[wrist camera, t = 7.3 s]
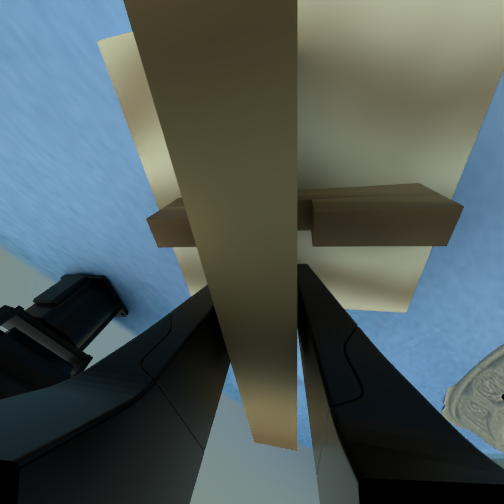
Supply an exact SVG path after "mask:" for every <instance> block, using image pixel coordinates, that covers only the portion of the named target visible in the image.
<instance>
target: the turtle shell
mask: <svg viewBox="0 0 504 504" xmlns="http://www.w3.org/2000/svg"><path fill="white" fill-rule="evenodd" d="M502 394H504V345H502V346H500V347H499V348H497V349H496V350H494V351H493V352H492V353H490V354H489V355H488V356H486V357H485V358H484V359H483V360H481V361H480V362H479V363H478V364H477V365H476V366H474V367H473V368H472V369H471V370H470V371H469V372H468V373H467V374H466V375H465V376H464V377H463V378H462V379H461V380H460V381H459V382H458V383H457V384H455V385H454V386H452V387H450V388H448V391H447V393H446V396H445V401H444V404H445V407H444V409H443V410H442V414H443V416H444V417H445V418H446V419H447V420H448V421H449V422H451V423H453V424H454V425H456V426H458V427H461V428H464V429H467V430H471V431H472V432H473V433H474V434H476V435H477V436H479V437H480V438H482V439H483V440H484V441H485V442H486V443H488V444H489V445H491V446H493V447H494V448H495V449H498V450H499V451H501V452H503V453H504V401H503V399H502V397H501V396H502ZM488 396H490V397H488Z"/></svg>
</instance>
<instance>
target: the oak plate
mask: <svg viewBox="0 0 504 504" xmlns="http://www.w3.org/2000/svg"><path fill="white" fill-rule="evenodd" d="M123 1H124V4H125V7H126V11H127V14H128V17H129V21H130V24H131V28H132V31H133V34H134V38H135V41H136V44H137V48H138V51H139V54H140V58H141V61H142V65H143V68H144V71H145V75H146V78H147V81H148V85H149V88H150V92H151V95H152V98H153V102H154V105H155V108H156V112H157V115H158V119H159V122H160V125H161V129H162V132H163V135H164V139H165V142H166V146H167V149H168V152H169V156H170V159H171V162H172V166H173V169H174V172H175V176H176V179H177V183H178V186H179V189H180V193H181V196H182V199H183V203H184V206H185V210H186V213H187V216H188V220H189V223H190V226H191V230H192V233H193V237H194V240H195V243H196V247H197V250H198V253H199V257H200V260H201V264H202V267H203V270H204V274H205V277H206V280H207V284H208V287H209V290H210V294H211V297H212V301H213V304H214V307H215V311H216V314H217V317H218V321H219V324H220V328H221V331H222V334H223V338H224V341H225V344H226V348H227V351H228V355H229V358H230V361H231V365H232V368H233V371H234V375H235V378H236V382H237V385H238V388H239V392H240V395H241V398H242V402H243V405H244V408H245V412H246V415H247V419H248V422H249V425H250V429H251V432H252V435H253V439H254V442H257V443H262V444H267V445H271V446H277V447H282V448H286V449H291V450H297V51H298V0H123Z"/></svg>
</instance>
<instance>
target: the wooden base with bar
mask: <svg viewBox="0 0 504 504" xmlns="http://www.w3.org/2000/svg"><path fill="white" fill-rule="evenodd" d="M97 43H98V46H99V48H100V51H101V54H102V56H103V59H104V62H105V65H106V67H107V70H108V73H109V75H110V78H111V81H112V84H113V86H114V89H115V92H116V94H117V97H118V100H119V102H120V105H121V108H122V111H123V113H124V116H125V119H126V121H127V124H128V127H129V130H130V132H131V135H132V138H133V140H134V143H135V146H136V148H137V151H138V154H139V157H140V159H141V162H142V165H143V167H144V170H145V173H146V176H147V178H148V181H149V184H150V186H151V189H152V192H153V194H154V197H155V200H156V203H157V205H158V208H159V211H158V212H156V213H155V214H153V215H152V216H150V217H149V218H147V219H146V220H147V222H148V224H149V227H150V229H151V232H152V234H153V236H154V239H155V241H156V244H157V246H158V247H173V249H174V251H175V254H176V257H177V259H178V262H179V265H180V268H181V270H182V273H183V276H184V278H185V281H186V284H187V287H188V289H189V292H190V295H191V296H193V295H194V294H195V293H197V292H198V291H199V290H201V289H202V288H203V287H205V286H206V285H207V280H206V277H205V274H204V270H203V267H202V264H201V260H200V257H199V253H198V250H197V247H196V243H195V240H194V237H193V233H192V230H191V226H190V223H189V220H188V216H187V213H186V210H185V206H184V203H183V199H182V196H181V193H180V189H179V186H178V183H177V179H176V176H175V172H174V169H173V166H172V162H171V159H170V156H169V152H168V149H167V146H166V142H165V139H164V135H163V132H162V129H161V125H160V122H159V119H158V115H157V112H156V108H155V105H154V102H153V98H152V95H151V92H150V88H149V85H148V81H147V78H146V75H145V71H144V68H143V65H142V61H141V58H140V54H139V51H138V48H137V44H136V41H135V38H134V34H133V32H129V33H125V34H122V35H118V36H114V37H111V38H107V39H103V40H100V41H97ZM503 71H504V0H298V51H297V264H308V265H309V266H310V267H311V269H312V270H313V271H314V272H315V274H316V275H317V276H318V277H319V279H320V280H321V281H322V282H323V283H324V285H325V286H326V287H327V288H328V290H329V291H330V292H331V293H332V294H333V296H334V297H335V298H336V299H337V301H338V302H339V303H340V304H341V305H342V307H343V308H344V309H353V310H370V311H387V312H405V313H406V312H407V309H408V307H409V304H410V302H411V299H412V297H413V294H414V292H415V289H416V287H417V284H418V282H419V279H420V277H421V274H422V272H423V269H424V267H425V264H426V262H427V259H428V257H429V254H430V252H431V249H432V247H433V246H447V244H448V242H449V240H450V237H451V235H452V233H453V231H454V228H455V226H456V224H457V222H458V219H459V217H460V215H461V212H462V210H463V208H464V206H462V205H460V204H458V203H456V202H454V201H452V197H453V195H454V192H455V190H456V187H457V185H458V182H459V180H460V178H461V175H462V173H463V170H464V168H465V165H466V163H467V160H468V158H469V155H470V153H471V150H472V148H473V145H474V143H475V140H476V138H477V135H478V133H479V130H480V128H481V125H482V123H483V120H484V118H485V115H486V113H487V110H488V108H489V106H490V103H491V101H492V98H493V96H494V93H495V91H496V88H497V86H498V83H499V81H500V78H501V76H502V73H503Z"/></svg>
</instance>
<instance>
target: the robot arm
mask: <svg viewBox="0 0 504 504" xmlns="http://www.w3.org/2000/svg"><path fill="white" fill-rule="evenodd" d="M60 279H61V281H59V282H58V283H56V284H55V285H53V286H52V287H50V288H49V289H47V290H46V291H45V292H43V293H42V294H40V295H39V296H37V297H36V298H34V300H33V302H34V303H35V304H33V305H32V306H31V307H29V308H28V309H26V310H25V311H24V308H22V307H21V306H17V307H16V308H13V307H10V306H6V305H4V306H3V307H1V308H0V326H3V327H4V328H6V329H8V331H6V332H3V331H1V330H0V504H190V500H191V497H192V493H193V490H194V486H195V483H196V480H197V476H198V473H199V469H200V466H201V462H202V459H203V455H204V450H205V448H206V444H207V441H208V437H209V434H210V431H211V427H212V424H213V420H214V417H215V413H216V410H217V406H218V403H219V400H220V396H221V393H222V389H223V386H224V382H225V379H226V375H227V372H228V369H229V365H230V362H231V361H230V358H229V355H228V351H227V348H226V344H225V341H224V338H223V334H222V331H221V328H220V324H219V321H218V317H217V314H216V311H215V307H214V304H213V301H212V297H211V294H210V290H209V287H208V284H207V285H206V286H205V287H203V288H202V289H201V290H199V291H198V292H197V293H195V294H194V295H193V296H191V297H190V298H189V299H187V300H186V301H185V302H183V303H182V304H181V305H179V306H178V307H177V308H175V309H174V310H173V311H172V312H171V313H169V314H167V315H166V316H165V317H163V318H162V319H161V320H159V321H158V322H157V323H155V324H154V325H153V326H151V327H150V328H148V329H147V330H146V331H144V332H143V333H141V334H140V335H138V336H137V337H135V338H134V339H132V340H131V341H129V342H128V343H126V344H125V345H124V346H122V347H120V348H119V349H117V350H116V351H115V352H113V353H111V354H110V355H108V356H106V357H105V358H103V359H102V360H100V361H99V362H97V363H96V364H94V365H93V366H91V367H90V368H88V369H86V370H85V368H86V367H87V366H88V364H89V363H90V361H91V360H92V358H93V357H91V356H90V355H87V354H86V353H84V352H83V350H84V349H85V348H86V347H87V346H88V345H89V344H90V343H91V342H92V341H93V340H94V338H95V337H96V336H97V335H98V334H99V333H100V332H101V331H102V330H103V329H104V328H105V327H106V326H107V325H108V323H109V322H110V321H111V320H112V319H113V318H114V317H115V316H119V317H126V316H127V315H128V312H127V310H126V308H125V307H124V305H123V304H122V302H121V300H120V299H119V297H118V296H117V294H116V292H115V291H114V289H113V288H112V286H111V284H110V283H109V281H108V280H107V278H105V277H103V276H82V275H64V276H62V277H61V278H60ZM297 329H298V337H299V345H300V352H301V360H302V368H303V375H304V383H305V391H306V399H307V406H308V414H309V422H310V429H311V437H312V445H313V452H314V459H315V468H316V474H317V483H318V491H319V499H320V504H504V469H503V468H502V467H501V466H499V465H498V464H497V463H495V462H494V461H492V460H491V459H490V458H489V457H487V456H486V455H485V454H484V453H482V452H481V451H480V450H479V449H477V448H476V447H475V446H474V445H473V444H472V443H470V442H469V441H468V440H467V439H466V438H465V437H464V436H463V435H462V434H461V433H460V432H458V431H457V430H456V429H455V428H454V427H453V426H452V425H451V424H450V423H449V422H448V421H447V420H446V419H445V418H444V417H443V416H442V415H441V414H440V413H439V412H438V411H437V410H436V409H435V408H434V407H433V406H432V405H431V404H430V403H429V402H428V401H427V400H426V398H425V397H424V396H423V395H422V394H421V393H420V392H419V391H418V390H417V389H416V388H415V387H414V386H413V385H412V384H411V383H410V382H409V381H408V380H407V379H406V378H405V377H404V376H403V375H402V374H401V373H400V372H399V371H398V370H397V369H396V368H395V367H394V366H393V365H392V364H391V363H390V362H389V361H388V360H387V359H386V358H385V357H384V355H383V354H382V353H381V352H380V351H379V350H378V349H377V348H376V346H375V345H374V344H373V343H372V342H371V341H370V340H369V338H368V337H367V336H366V335H365V334H364V332H363V331H362V330H361V329H360V327H357V324H356V323H355V321H354V320H353V319H352V318H351V316H350V315H349V314H348V313H347V312H346V310H345V309H344V308H343V307H342V305H341V304H340V303H339V302H338V301H337V299H336V298H335V297H334V296H333V294H332V293H331V292H330V291H329V290H328V288H327V287H326V286H325V285H324V283H323V282H322V281H321V280H320V279H319V277H318V276H317V275H316V274H315V272H314V271H313V270H312V269H311V267H310V266H309V265H308V264H297ZM84 370H85V371H84Z"/></svg>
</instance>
